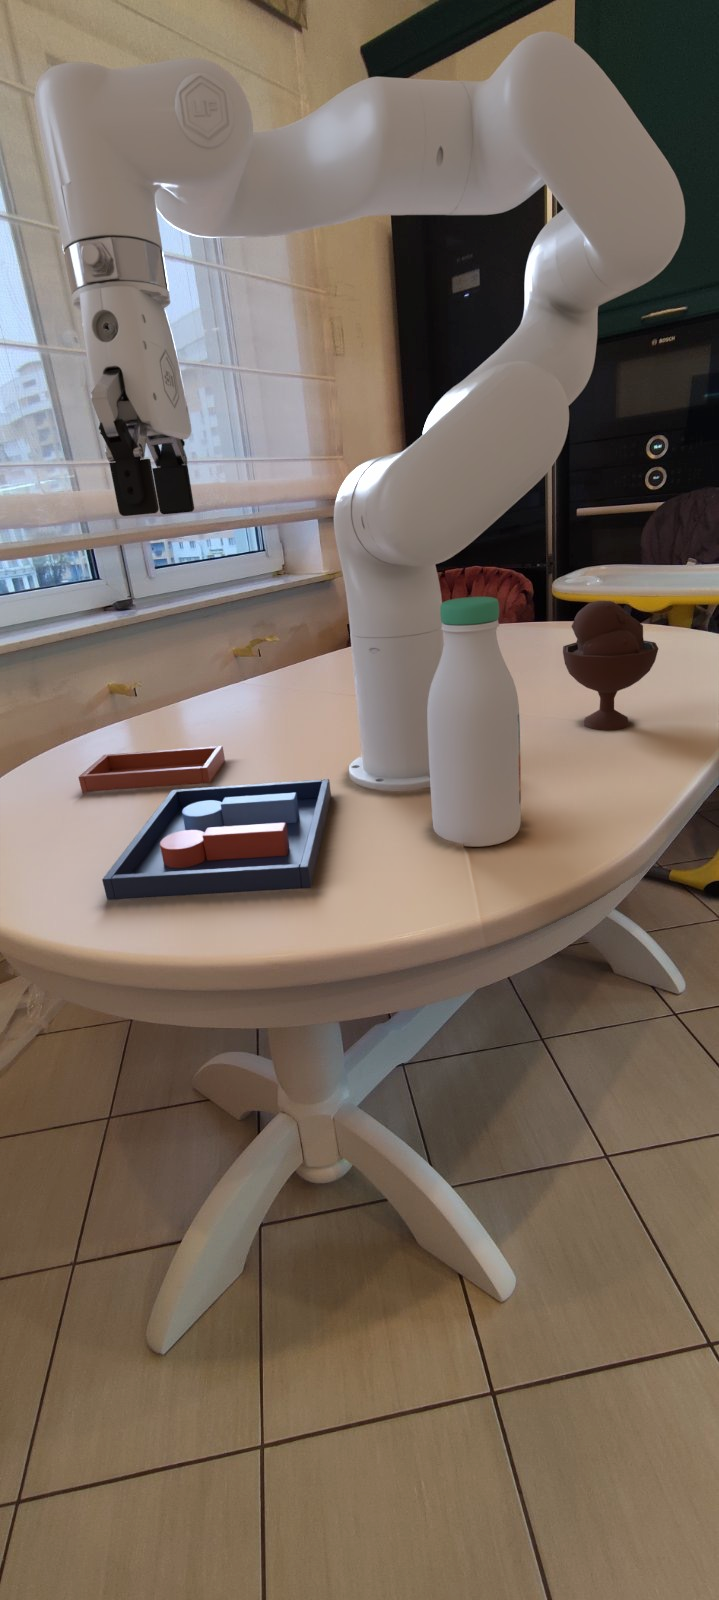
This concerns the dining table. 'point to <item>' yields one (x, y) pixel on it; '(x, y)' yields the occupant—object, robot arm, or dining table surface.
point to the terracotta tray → (153, 769)
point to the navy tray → (150, 877)
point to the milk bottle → (473, 730)
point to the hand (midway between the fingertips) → (160, 513)
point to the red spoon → (224, 844)
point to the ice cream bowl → (608, 657)
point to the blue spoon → (242, 811)
